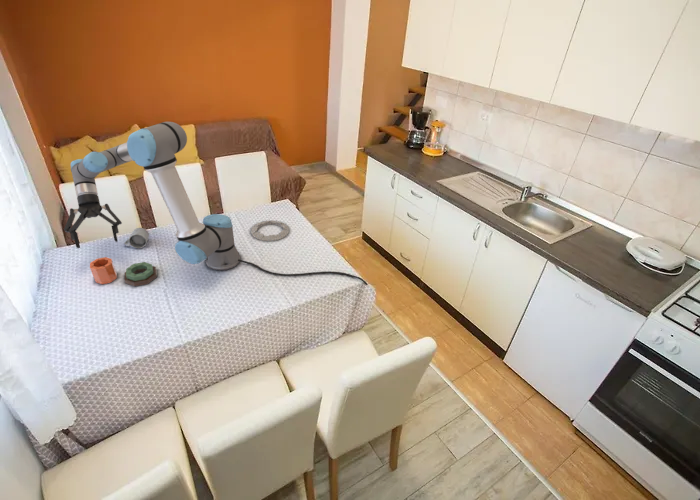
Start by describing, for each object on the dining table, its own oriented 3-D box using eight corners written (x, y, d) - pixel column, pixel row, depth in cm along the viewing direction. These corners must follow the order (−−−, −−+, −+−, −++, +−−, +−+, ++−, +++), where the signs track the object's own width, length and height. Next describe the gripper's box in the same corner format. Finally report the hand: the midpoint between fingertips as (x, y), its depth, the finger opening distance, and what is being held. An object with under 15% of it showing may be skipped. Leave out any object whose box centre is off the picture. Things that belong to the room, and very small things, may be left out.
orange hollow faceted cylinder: (121, 275, 163) (116, 260, 158) (106, 285, 157) (100, 270, 152) (106, 270, 165) (101, 255, 160) (91, 281, 158) (85, 265, 154)
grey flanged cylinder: (151, 238, 187) (147, 225, 182) (148, 247, 180) (144, 234, 176) (127, 240, 184) (122, 227, 180) (123, 250, 178) (118, 236, 173)
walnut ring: (162, 272, 166) (162, 269, 165) (141, 288, 157) (140, 285, 156) (141, 265, 169) (140, 261, 168) (119, 280, 160) (117, 277, 159)
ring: (292, 224, 207) (292, 221, 206) (283, 243, 191) (283, 240, 190) (258, 219, 208) (258, 216, 207) (246, 238, 192) (245, 235, 191)
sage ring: (158, 269, 164) (157, 266, 163) (140, 283, 157) (139, 279, 155) (140, 263, 167) (139, 260, 166) (121, 276, 159) (120, 272, 158)
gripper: (122, 194, 168) (132, 240, 166) (55, 203, 158) (64, 252, 156) (119, 188, 161) (129, 236, 159) (48, 197, 151) (58, 248, 149)
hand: (97, 244), depth 157 cm, fingers open, 13 cm apart
